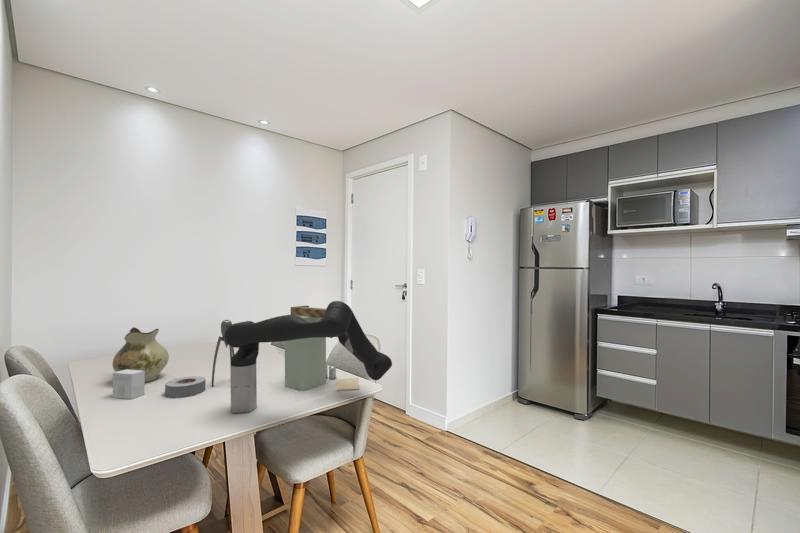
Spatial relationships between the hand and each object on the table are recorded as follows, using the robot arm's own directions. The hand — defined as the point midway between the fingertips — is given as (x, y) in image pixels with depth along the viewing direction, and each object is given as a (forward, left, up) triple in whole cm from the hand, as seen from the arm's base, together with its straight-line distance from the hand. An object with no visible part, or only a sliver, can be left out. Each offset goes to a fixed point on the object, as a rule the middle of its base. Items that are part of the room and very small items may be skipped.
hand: (328, 319), depth 165 cm
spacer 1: (+20, +3, -31) cm, 37 cm away
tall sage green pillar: (+11, +11, -31) cm, 35 cm away
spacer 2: (+18, -1, -31) cm, 36 cm away
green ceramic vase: (+33, +91, -32) cm, 102 cm away
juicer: (+17, +46, -32) cm, 58 cm away
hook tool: (+9, +6, +1) cm, 11 cm away
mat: (+7, -8, -31) cm, 33 cm away
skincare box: (+9, +84, -32) cm, 90 cm away
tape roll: (+10, +62, -32) cm, 70 cm away
